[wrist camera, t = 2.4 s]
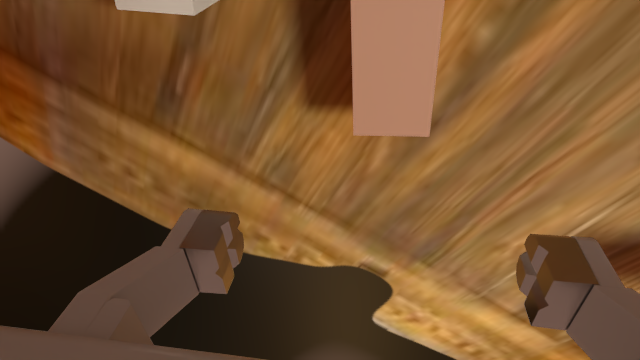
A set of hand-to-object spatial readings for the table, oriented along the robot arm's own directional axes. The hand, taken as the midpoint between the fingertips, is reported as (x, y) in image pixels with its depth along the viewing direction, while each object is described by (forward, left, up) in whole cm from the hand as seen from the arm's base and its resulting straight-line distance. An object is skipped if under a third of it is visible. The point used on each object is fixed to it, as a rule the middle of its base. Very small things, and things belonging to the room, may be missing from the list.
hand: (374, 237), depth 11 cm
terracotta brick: (-1, 0, -20) cm, 20 cm away
